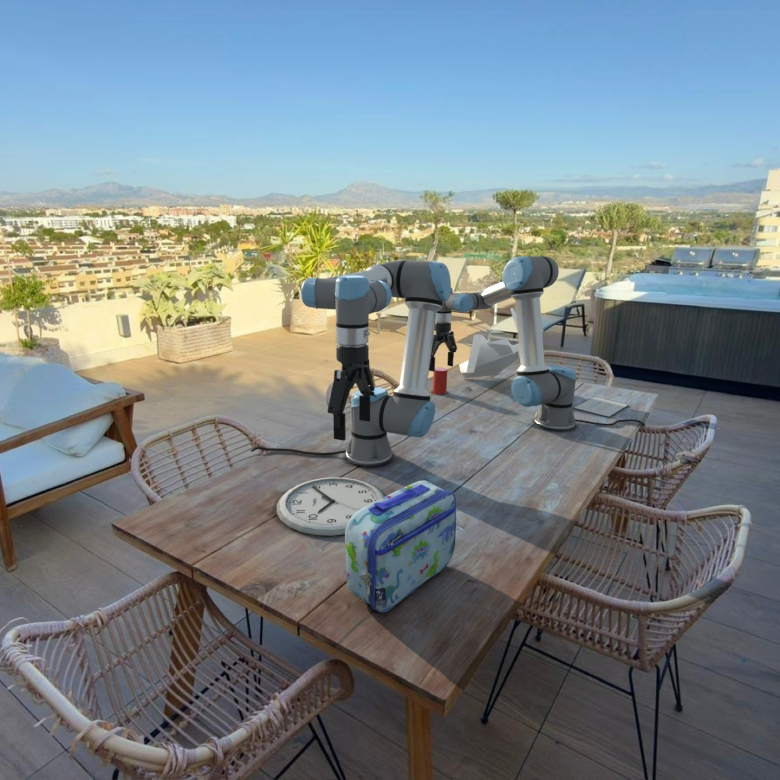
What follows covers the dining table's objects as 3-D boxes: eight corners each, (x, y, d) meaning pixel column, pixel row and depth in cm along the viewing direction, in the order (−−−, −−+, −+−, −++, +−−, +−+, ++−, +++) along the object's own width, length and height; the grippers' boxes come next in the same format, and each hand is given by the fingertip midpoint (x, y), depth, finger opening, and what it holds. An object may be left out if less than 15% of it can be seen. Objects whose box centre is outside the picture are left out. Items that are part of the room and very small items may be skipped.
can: (440, 389, 246) (441, 366, 243) (449, 393, 242) (450, 369, 238) (429, 391, 243) (430, 368, 239) (438, 395, 238) (440, 371, 235)
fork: (417, 411, 216) (418, 406, 216) (428, 400, 231) (428, 395, 230) (423, 412, 215) (424, 407, 215) (434, 400, 230) (434, 396, 229)
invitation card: (608, 416, 214) (573, 407, 224) (608, 416, 214) (573, 408, 224) (628, 404, 229) (594, 396, 238) (628, 405, 229) (594, 397, 238)
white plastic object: (480, 420, 263) (459, 397, 239) (461, 347, 286) (440, 319, 261) (551, 396, 251) (537, 369, 226) (526, 322, 273) (511, 290, 249)
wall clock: (392, 527, 129) (268, 531, 127) (391, 533, 130) (269, 537, 127) (383, 473, 158) (282, 475, 155) (383, 478, 158) (282, 480, 156)
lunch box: (374, 626, 100) (375, 530, 93) (338, 598, 107) (337, 508, 101) (459, 568, 117) (465, 484, 111) (424, 547, 124) (427, 467, 118)
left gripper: (341, 357, 109) (342, 451, 115) (388, 336, 131) (386, 415, 137) (310, 353, 111) (313, 445, 118) (361, 333, 133) (361, 411, 140)
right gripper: (452, 318, 244) (451, 362, 250) (418, 324, 226) (417, 371, 232) (466, 319, 239) (463, 365, 245) (431, 326, 221) (430, 374, 227)
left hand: (352, 429), depth 127 cm, fingers open, 13 cm apart
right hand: (441, 368), depth 238 cm, fingers open, 13 cm apart
